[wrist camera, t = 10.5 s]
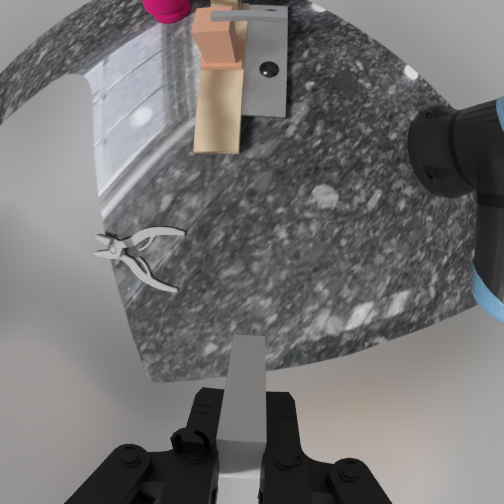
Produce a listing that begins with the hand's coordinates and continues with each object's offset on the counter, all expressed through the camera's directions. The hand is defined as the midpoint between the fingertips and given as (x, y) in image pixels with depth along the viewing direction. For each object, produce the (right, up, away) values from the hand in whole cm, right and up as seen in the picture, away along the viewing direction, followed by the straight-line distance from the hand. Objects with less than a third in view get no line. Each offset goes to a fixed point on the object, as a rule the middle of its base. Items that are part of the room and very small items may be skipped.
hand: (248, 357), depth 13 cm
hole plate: (+2, +34, +19) cm, 39 cm away
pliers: (-18, +5, +27) cm, 33 cm away
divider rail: (-1, +32, +20) cm, 37 cm away
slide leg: (-1, +33, +17) cm, 37 cm away
